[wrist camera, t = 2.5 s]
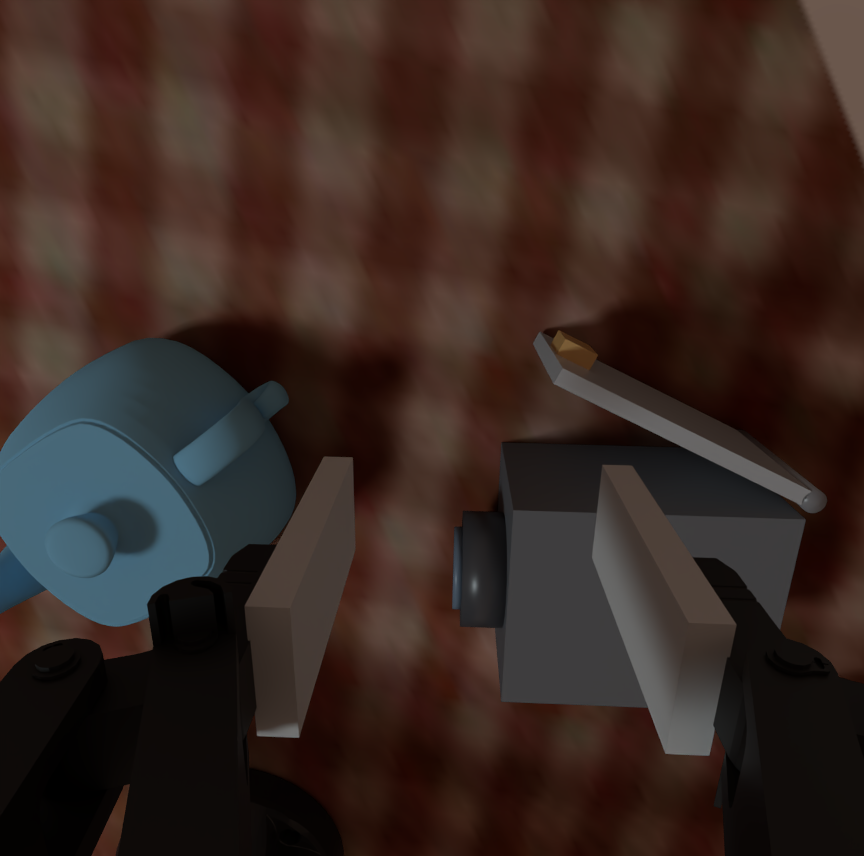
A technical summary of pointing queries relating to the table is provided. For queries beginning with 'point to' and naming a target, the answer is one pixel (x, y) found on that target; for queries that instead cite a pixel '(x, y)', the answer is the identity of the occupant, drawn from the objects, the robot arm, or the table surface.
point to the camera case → (575, 570)
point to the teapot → (139, 481)
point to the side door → (671, 418)
